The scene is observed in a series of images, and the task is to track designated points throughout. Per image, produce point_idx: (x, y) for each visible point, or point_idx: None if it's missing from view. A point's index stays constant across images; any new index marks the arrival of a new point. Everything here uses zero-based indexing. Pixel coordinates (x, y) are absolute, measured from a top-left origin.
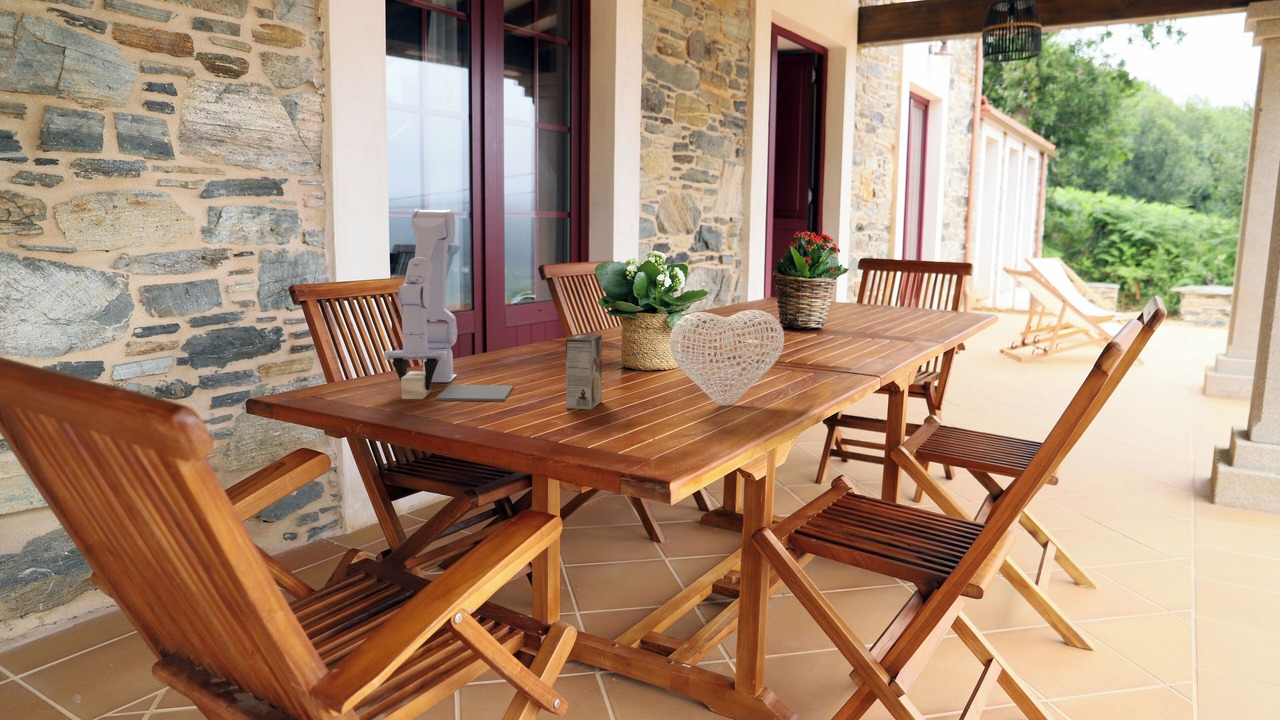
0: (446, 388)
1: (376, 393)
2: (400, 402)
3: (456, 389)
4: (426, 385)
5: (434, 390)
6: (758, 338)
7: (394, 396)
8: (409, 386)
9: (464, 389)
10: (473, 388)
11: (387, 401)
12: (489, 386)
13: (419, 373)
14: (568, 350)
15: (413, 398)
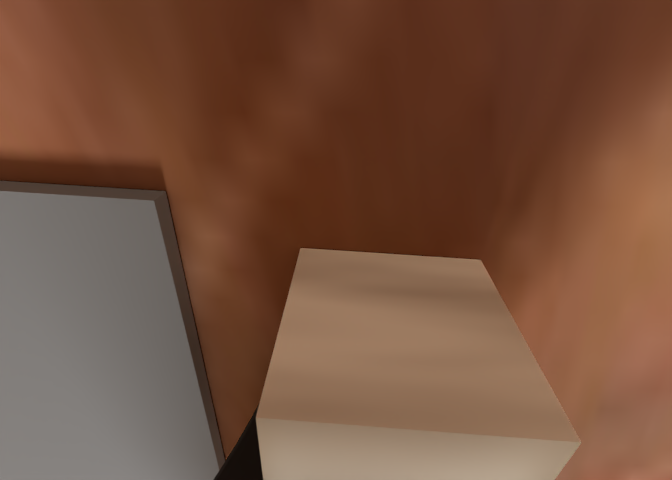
0: (211, 452)
1: (651, 409)
2: (492, 110)
3: (140, 431)
4: None
5: None
6: None
7: (534, 334)
8: (428, 335)
9: (92, 428)
10: (56, 444)
11: (623, 159)
12: (2, 471)
13: None
14: None
15: (378, 254)
